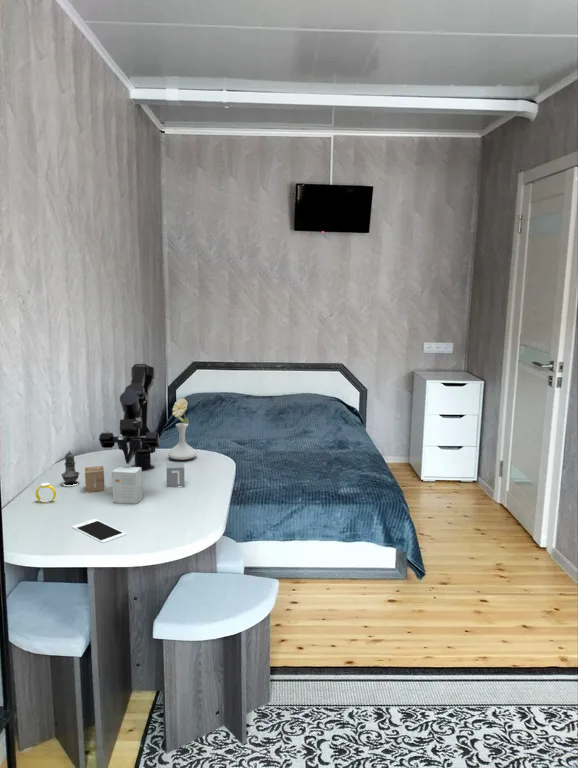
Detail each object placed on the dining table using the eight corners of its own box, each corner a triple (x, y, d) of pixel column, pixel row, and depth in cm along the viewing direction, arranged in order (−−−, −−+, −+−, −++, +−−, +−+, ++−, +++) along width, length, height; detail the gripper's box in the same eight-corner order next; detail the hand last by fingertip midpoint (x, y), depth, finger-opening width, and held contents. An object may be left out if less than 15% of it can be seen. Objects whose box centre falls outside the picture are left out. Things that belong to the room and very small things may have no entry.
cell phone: (95, 520, 179) (95, 518, 179) (127, 535, 169) (127, 533, 169) (71, 528, 173) (71, 526, 173) (102, 544, 163) (102, 542, 163)
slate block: (167, 482, 213) (166, 463, 212) (184, 481, 214) (184, 462, 213) (166, 488, 207) (166, 468, 206) (184, 487, 208) (184, 467, 207)
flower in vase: (165, 455, 244) (163, 395, 240) (192, 452, 249) (192, 393, 244) (172, 464, 232) (171, 401, 228) (201, 461, 237) (200, 399, 233)
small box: (143, 498, 197) (142, 467, 195) (137, 504, 192) (136, 472, 190) (119, 496, 198) (118, 465, 196) (112, 502, 192) (111, 471, 191)
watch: (35, 504, 191) (33, 486, 190) (39, 501, 194) (36, 483, 193) (54, 502, 191) (52, 485, 190) (57, 499, 194) (55, 482, 193)
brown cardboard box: (85, 487, 207) (84, 466, 205) (104, 485, 209) (103, 465, 207) (85, 493, 201) (84, 472, 200) (104, 491, 203) (103, 470, 202)
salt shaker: (58, 485, 208) (56, 451, 206) (70, 480, 213) (68, 447, 211) (71, 487, 205) (70, 453, 203) (83, 482, 211) (82, 449, 209)
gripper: (99, 408, 195) (92, 451, 186) (157, 408, 197) (154, 450, 188) (105, 426, 204) (99, 467, 195) (161, 426, 206) (157, 467, 197)
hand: (127, 463), depth 194 cm, fingers closed
